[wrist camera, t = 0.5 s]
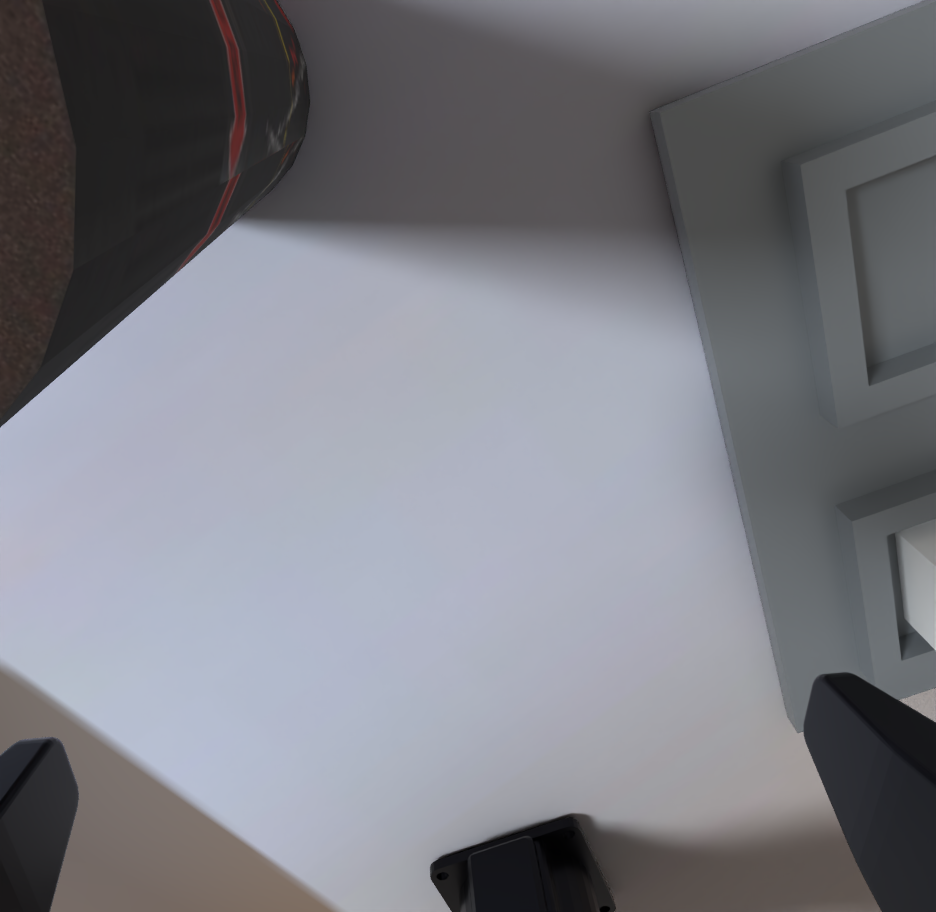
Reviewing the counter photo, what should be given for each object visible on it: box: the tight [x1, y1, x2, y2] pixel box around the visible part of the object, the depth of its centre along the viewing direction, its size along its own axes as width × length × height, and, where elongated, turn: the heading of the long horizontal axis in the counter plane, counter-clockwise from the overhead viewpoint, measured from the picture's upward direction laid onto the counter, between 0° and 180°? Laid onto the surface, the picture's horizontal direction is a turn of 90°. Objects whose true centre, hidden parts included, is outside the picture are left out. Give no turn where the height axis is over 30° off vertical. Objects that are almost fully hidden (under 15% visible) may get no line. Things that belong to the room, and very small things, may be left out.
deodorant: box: [0, 0, 310, 427], centre depth 11 cm, size 6×6×15 cm
